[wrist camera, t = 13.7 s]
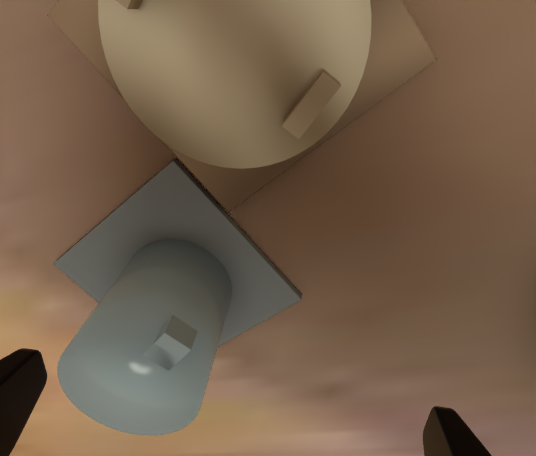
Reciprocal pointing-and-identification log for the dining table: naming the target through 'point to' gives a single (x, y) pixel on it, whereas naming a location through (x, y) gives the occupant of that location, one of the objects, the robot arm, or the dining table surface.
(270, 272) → the mat
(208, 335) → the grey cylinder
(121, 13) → the turntable
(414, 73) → the turntable base
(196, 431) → the dining table surface
